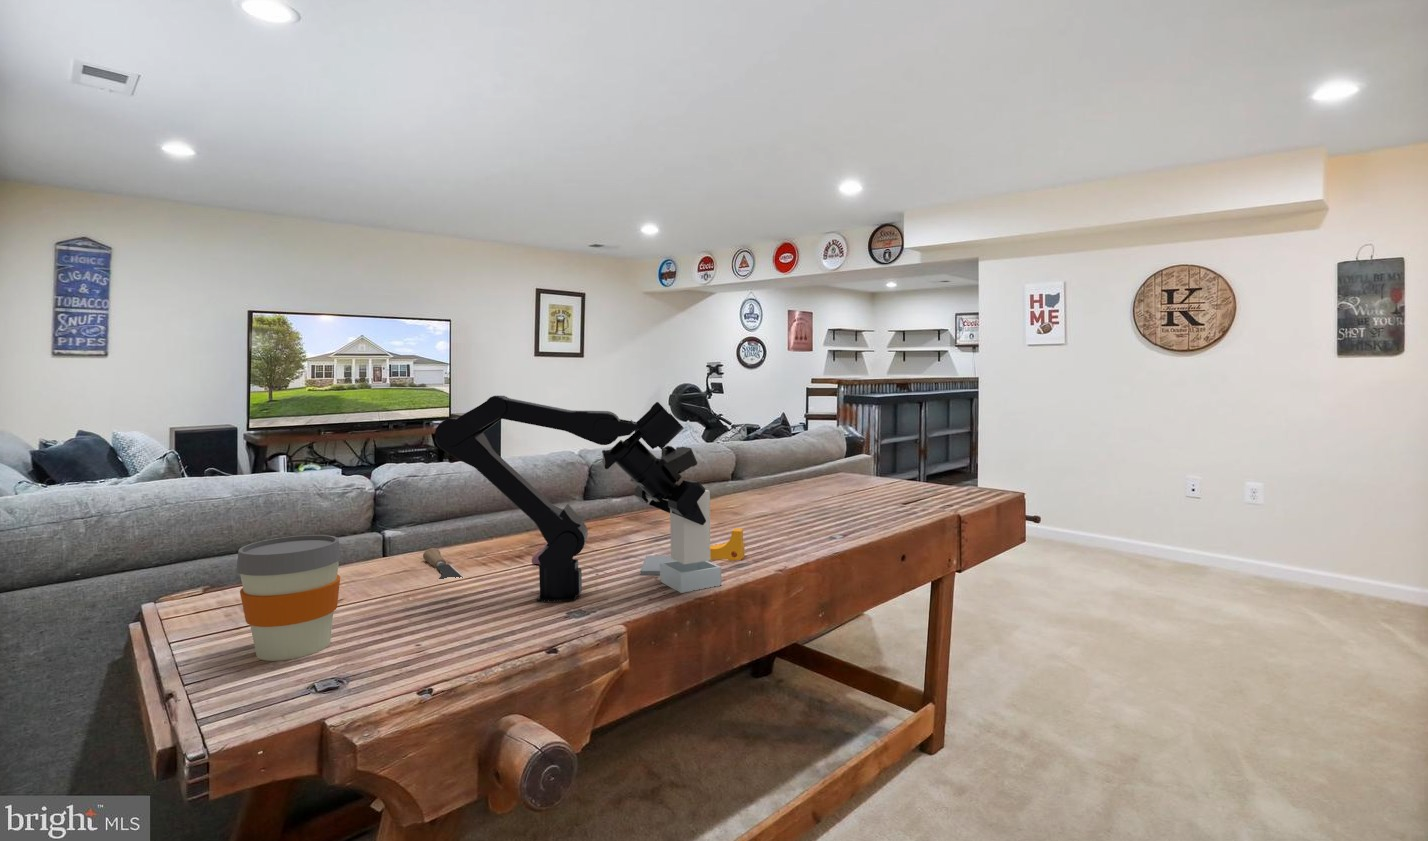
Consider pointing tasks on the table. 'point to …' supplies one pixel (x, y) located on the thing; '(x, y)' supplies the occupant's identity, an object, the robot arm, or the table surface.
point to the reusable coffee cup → (290, 594)
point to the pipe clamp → (729, 547)
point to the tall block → (691, 535)
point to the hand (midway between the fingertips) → (696, 520)
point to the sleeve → (690, 575)
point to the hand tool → (440, 563)
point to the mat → (654, 564)
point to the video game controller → (535, 557)
